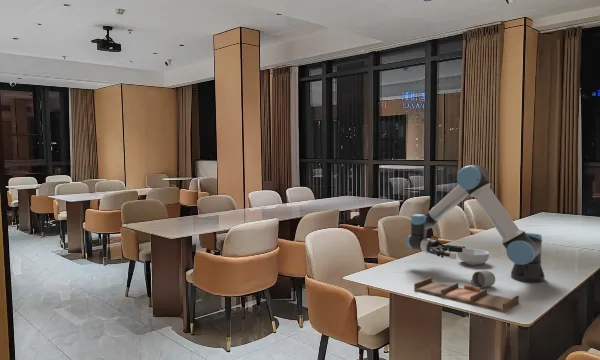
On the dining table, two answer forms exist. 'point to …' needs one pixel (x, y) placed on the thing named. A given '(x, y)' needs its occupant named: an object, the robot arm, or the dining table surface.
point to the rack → (466, 295)
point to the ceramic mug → (483, 279)
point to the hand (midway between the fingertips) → (464, 254)
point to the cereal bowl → (474, 257)
